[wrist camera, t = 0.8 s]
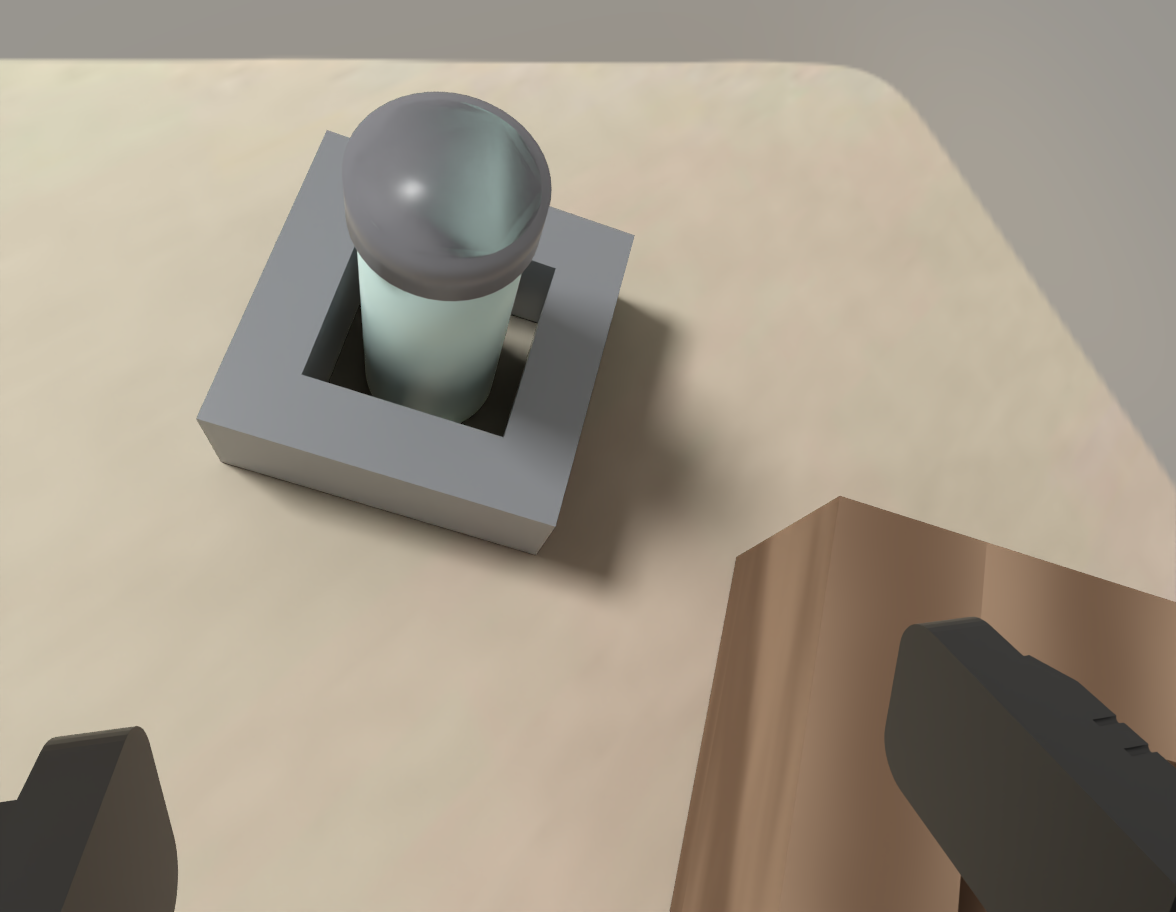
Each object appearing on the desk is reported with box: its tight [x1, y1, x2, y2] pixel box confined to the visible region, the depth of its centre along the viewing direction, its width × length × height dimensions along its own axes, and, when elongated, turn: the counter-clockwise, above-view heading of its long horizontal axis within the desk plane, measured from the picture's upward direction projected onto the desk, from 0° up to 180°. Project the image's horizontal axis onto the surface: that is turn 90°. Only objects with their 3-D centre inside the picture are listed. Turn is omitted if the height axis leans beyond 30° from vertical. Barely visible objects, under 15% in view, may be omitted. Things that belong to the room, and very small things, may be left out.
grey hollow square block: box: [196, 130, 635, 555], centre depth 26 cm, size 10×10×4 cm
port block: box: [670, 496, 1176, 912], centre depth 23 cm, size 14×14×7 cm
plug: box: [342, 92, 551, 423], centre depth 23 cm, size 4×4×10 cm
